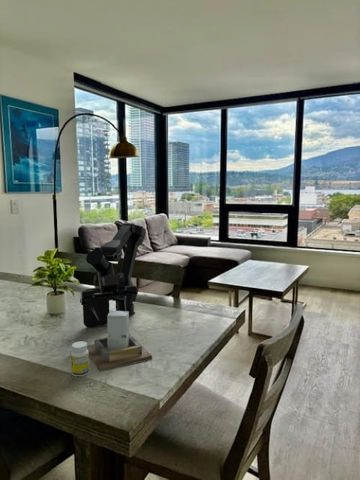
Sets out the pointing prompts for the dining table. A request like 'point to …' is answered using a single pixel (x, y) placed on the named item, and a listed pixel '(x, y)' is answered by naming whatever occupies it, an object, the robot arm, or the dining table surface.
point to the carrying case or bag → (103, 309)
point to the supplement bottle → (80, 359)
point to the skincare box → (117, 330)
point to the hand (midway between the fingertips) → (113, 318)
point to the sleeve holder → (117, 354)
